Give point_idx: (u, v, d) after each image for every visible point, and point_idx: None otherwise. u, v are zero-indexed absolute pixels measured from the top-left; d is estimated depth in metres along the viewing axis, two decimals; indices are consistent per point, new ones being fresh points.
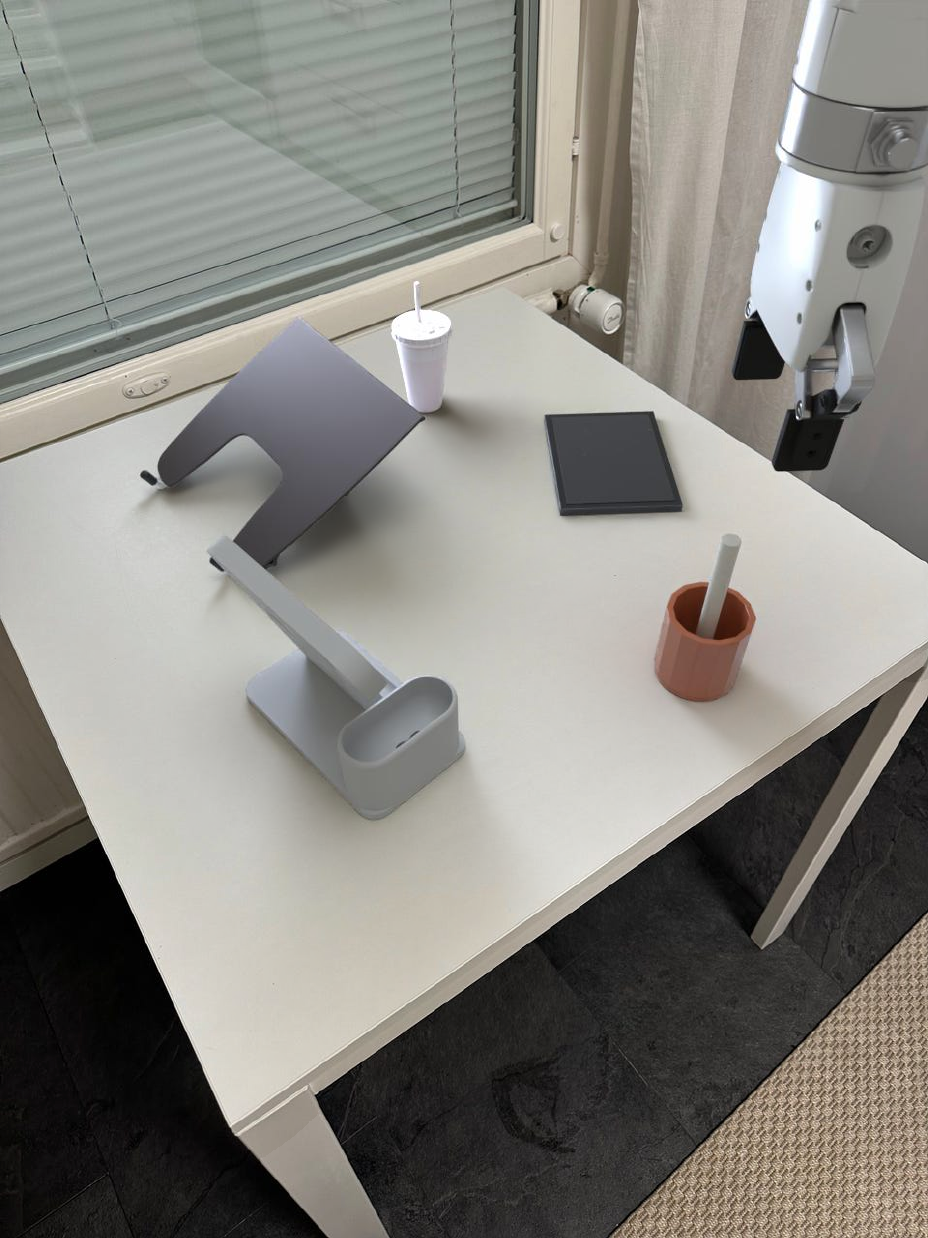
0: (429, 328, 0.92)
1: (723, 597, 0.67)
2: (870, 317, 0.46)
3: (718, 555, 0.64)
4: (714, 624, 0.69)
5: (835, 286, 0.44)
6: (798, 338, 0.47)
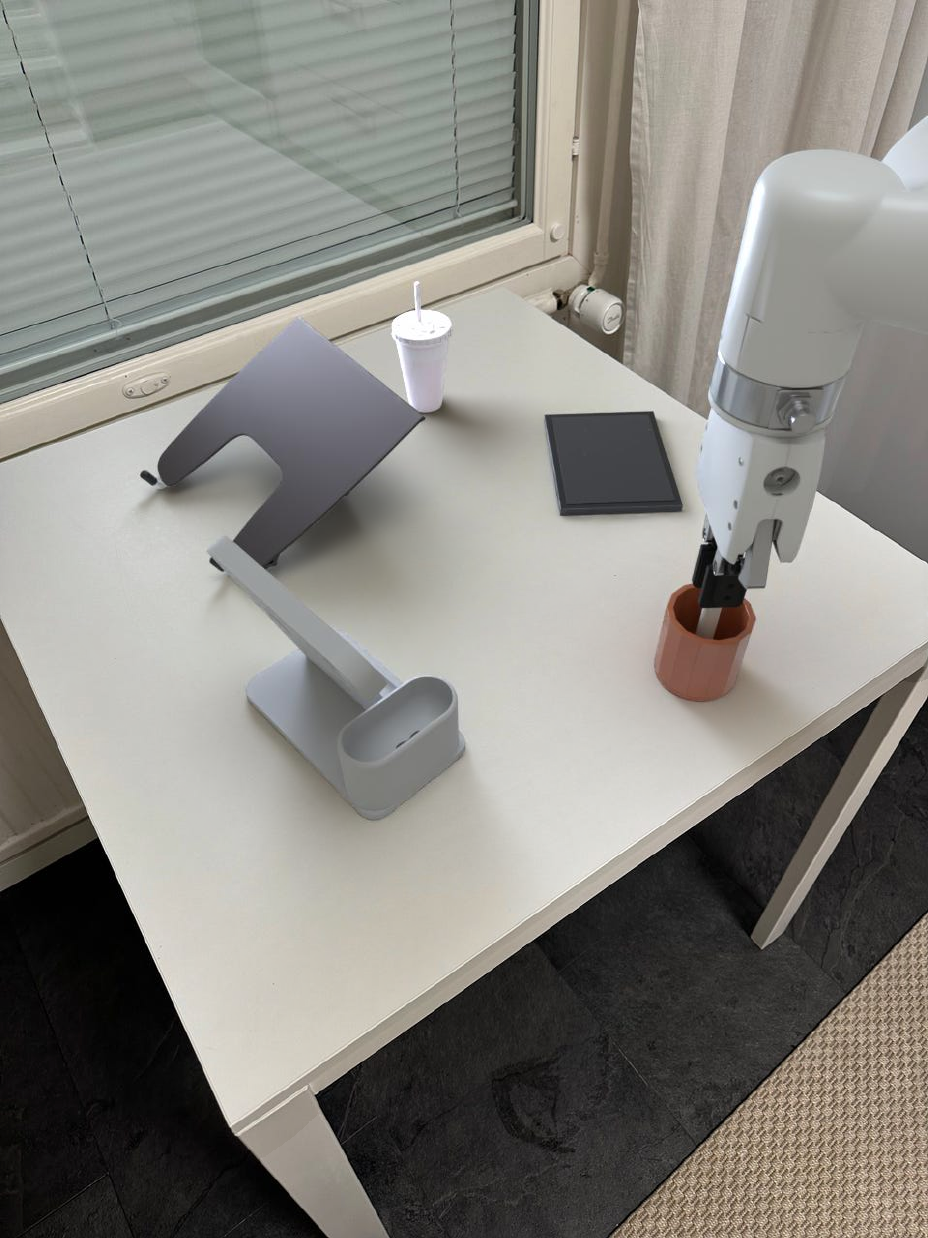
0: (429, 328, 0.92)
1: None
2: (786, 529, 0.56)
3: None
4: (714, 624, 0.69)
5: (756, 508, 0.55)
6: (729, 541, 0.57)
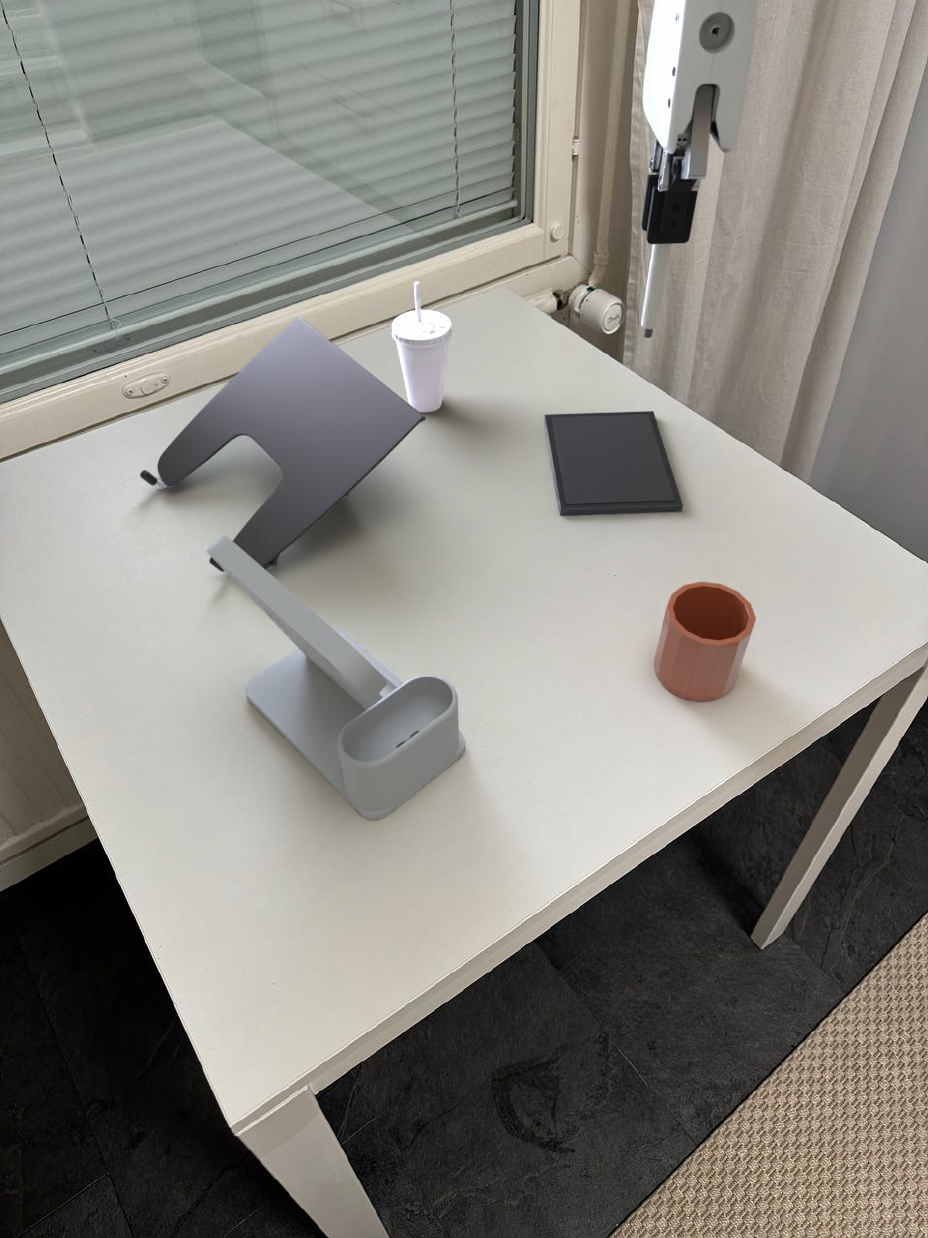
0: (429, 328, 0.92)
1: None
2: (724, 98, 0.56)
3: None
4: (662, 271, 0.69)
5: (693, 69, 0.55)
6: (669, 120, 0.58)
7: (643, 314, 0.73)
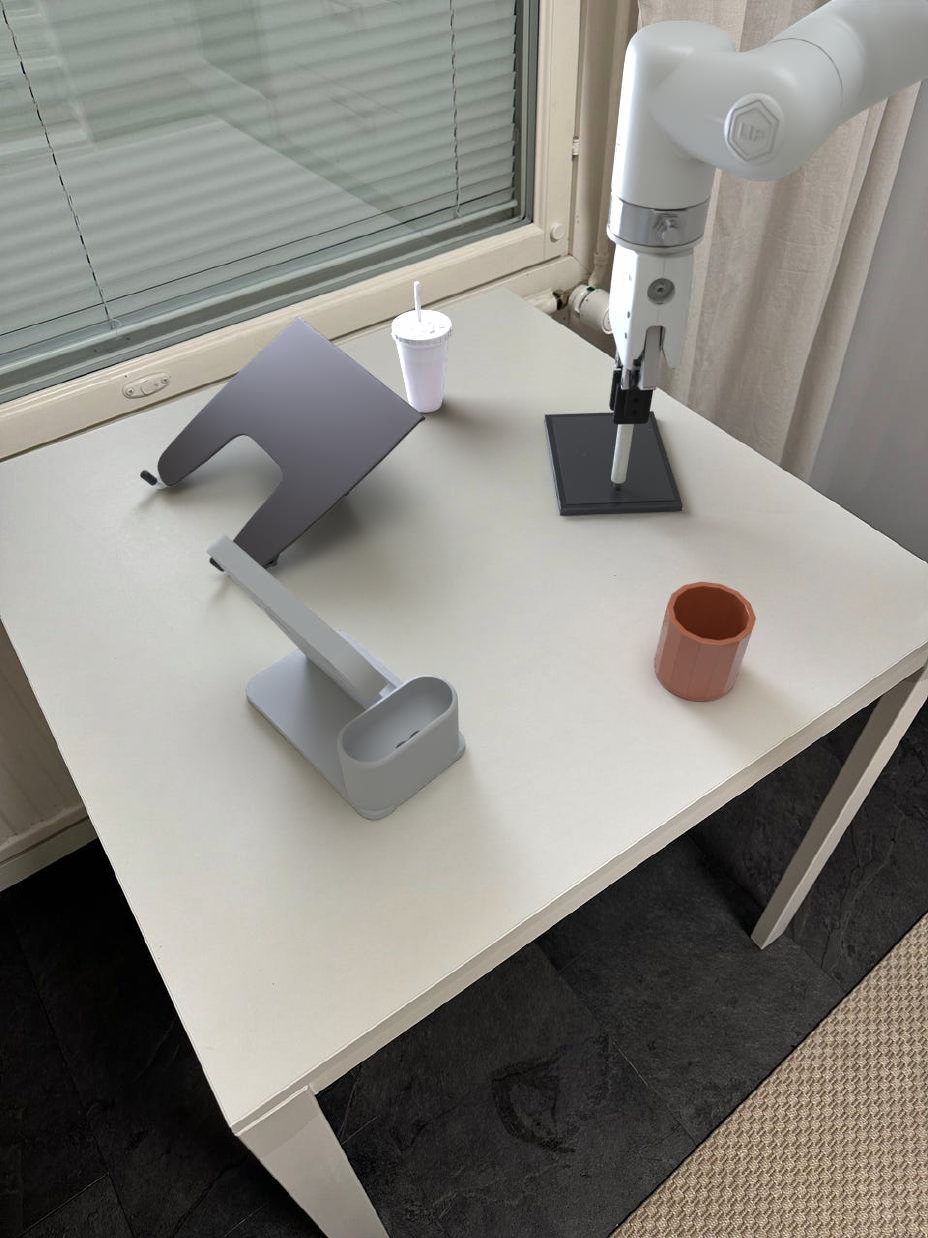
0: (429, 328, 0.92)
1: None
2: (669, 335, 0.71)
3: None
4: (627, 442, 0.84)
5: (643, 315, 0.70)
6: (626, 348, 0.72)
7: (612, 472, 0.87)
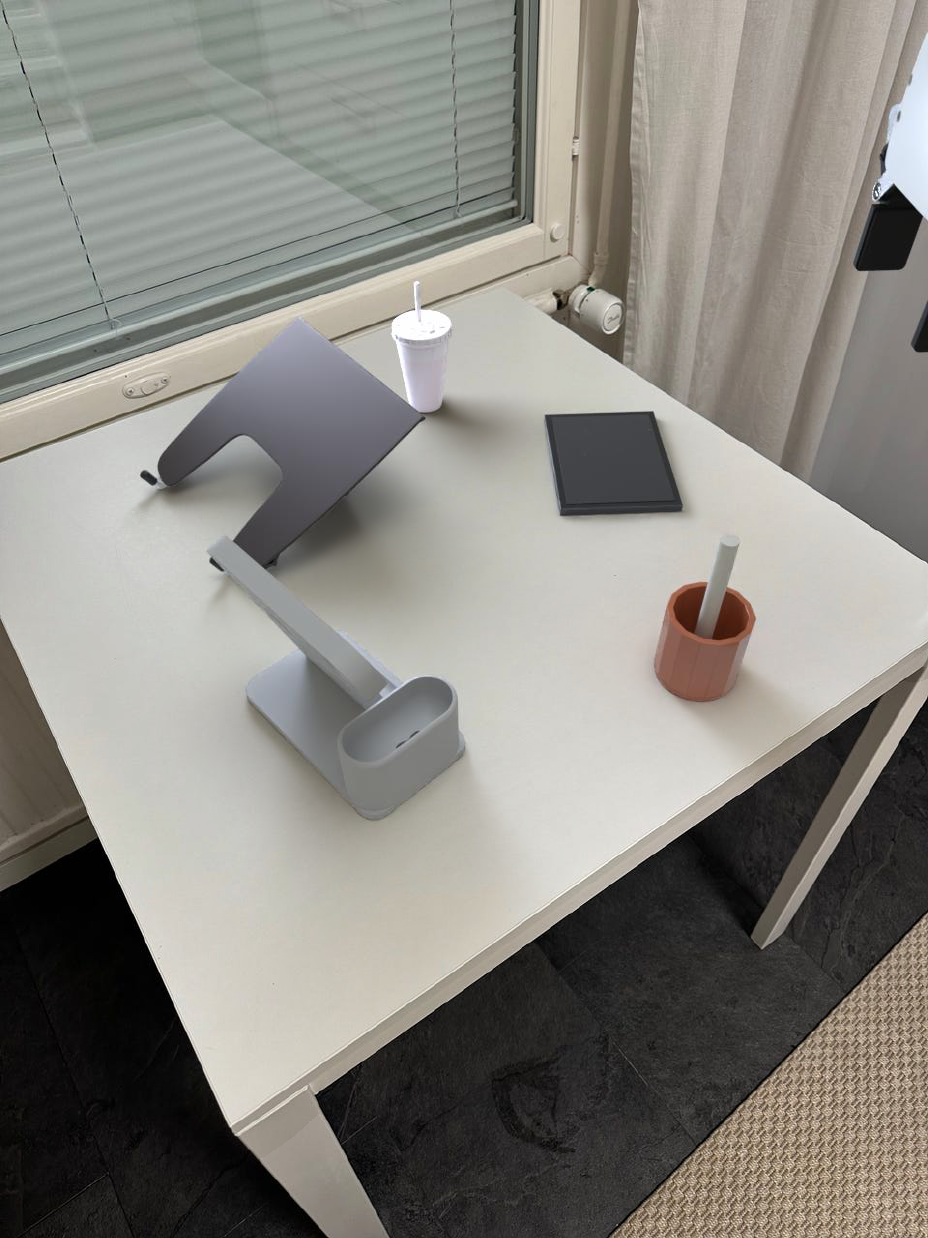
0: (429, 328, 0.92)
1: (722, 597, 0.67)
2: None
3: (717, 555, 0.64)
4: (712, 624, 0.69)
5: None
6: None
7: None
